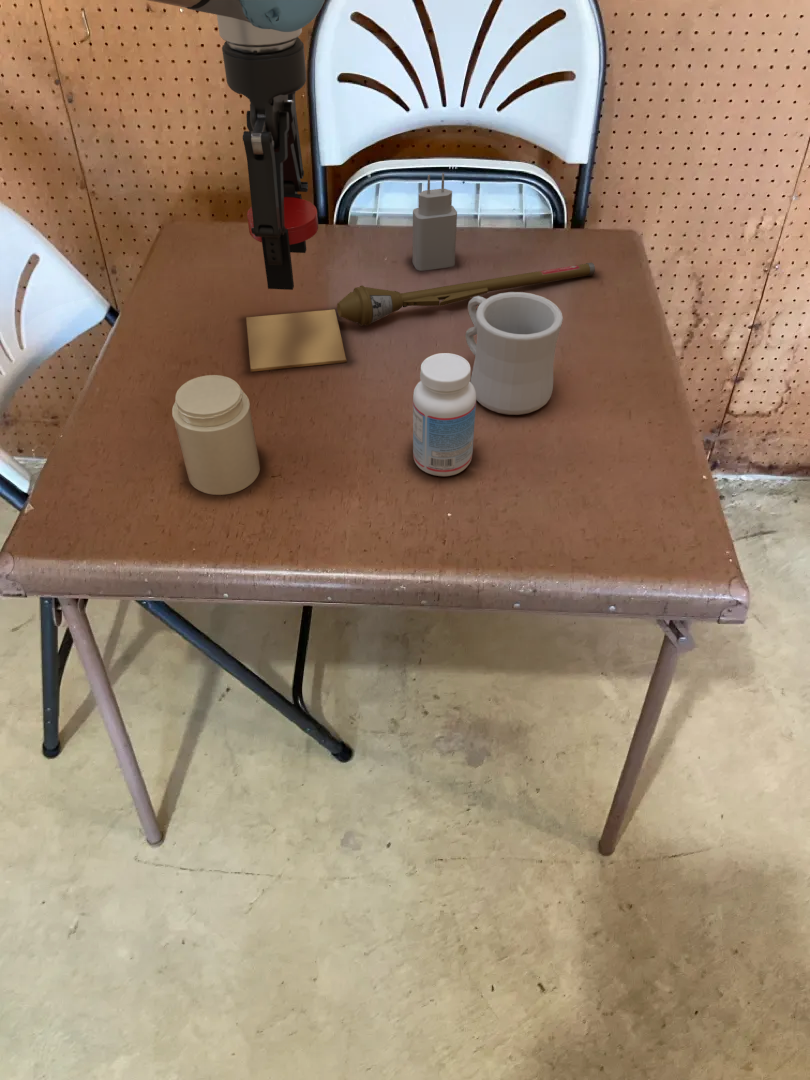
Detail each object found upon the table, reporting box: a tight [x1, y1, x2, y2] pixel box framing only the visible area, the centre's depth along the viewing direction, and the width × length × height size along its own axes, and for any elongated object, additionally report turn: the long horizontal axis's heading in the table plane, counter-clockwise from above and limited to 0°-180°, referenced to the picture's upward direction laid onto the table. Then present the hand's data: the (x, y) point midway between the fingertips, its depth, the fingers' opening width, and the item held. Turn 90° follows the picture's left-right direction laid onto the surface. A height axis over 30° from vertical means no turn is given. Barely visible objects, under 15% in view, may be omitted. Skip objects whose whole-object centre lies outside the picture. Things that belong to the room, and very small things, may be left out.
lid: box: [246, 197, 319, 245], centre depth 90 cm, size 8×7×2 cm
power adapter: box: [411, 172, 458, 272], centre depth 109 cm, size 3×5×12 cm, turn 105°
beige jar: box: [171, 374, 261, 496], centre depth 81 cm, size 7×7×10 cm
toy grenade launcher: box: [336, 262, 596, 327], centre depth 106 cm, size 5×35×5 cm
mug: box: [464, 291, 564, 416], centre depth 91 cm, size 12×9×10 cm
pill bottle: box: [412, 352, 477, 477], centre depth 82 cm, size 6×6×11 cm
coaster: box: [245, 308, 347, 373], centre depth 100 cm, size 11×11×1 cm
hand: (287, 268), depth 94 cm, fingers closed on lid, 7 cm apart
